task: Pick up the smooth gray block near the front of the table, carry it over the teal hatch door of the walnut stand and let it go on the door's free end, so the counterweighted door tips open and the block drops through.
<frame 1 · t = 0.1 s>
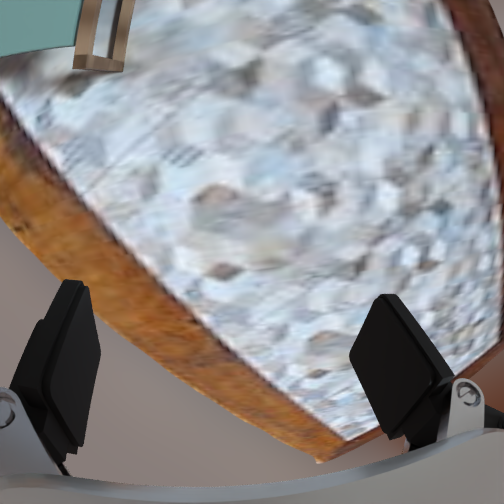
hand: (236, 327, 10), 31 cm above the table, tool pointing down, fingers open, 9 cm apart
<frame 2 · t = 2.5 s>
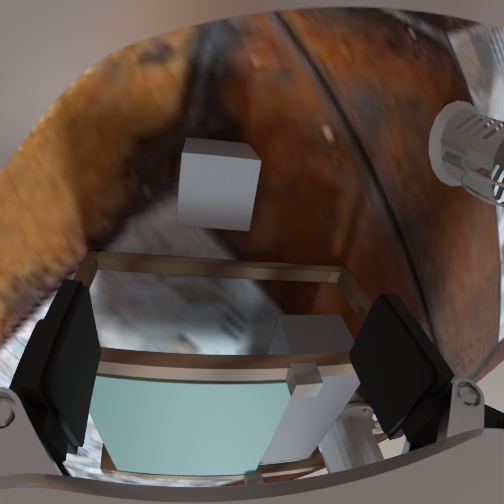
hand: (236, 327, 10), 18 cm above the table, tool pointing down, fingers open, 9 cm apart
hatch door: (218, 407, 27), point 9 cm above the table, hinge at 0.0°
french press: (454, 145, 27), on the table
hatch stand: (249, 340, 36), on the table
smooth gray block: (213, 169, 25), on the table
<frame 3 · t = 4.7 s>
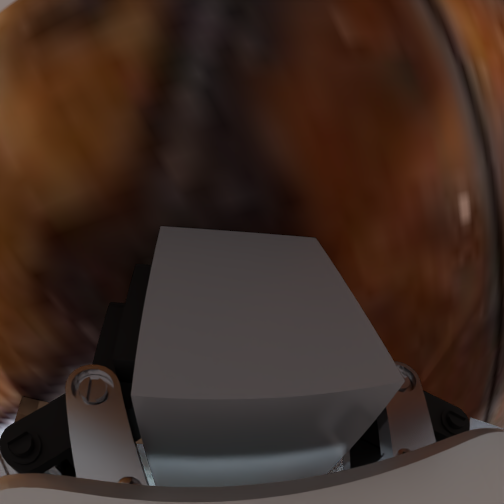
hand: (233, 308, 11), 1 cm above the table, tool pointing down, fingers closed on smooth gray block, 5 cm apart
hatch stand: (277, 474, 21), on the table
smooth gray block: (231, 295, 11), on the table, touching gripper
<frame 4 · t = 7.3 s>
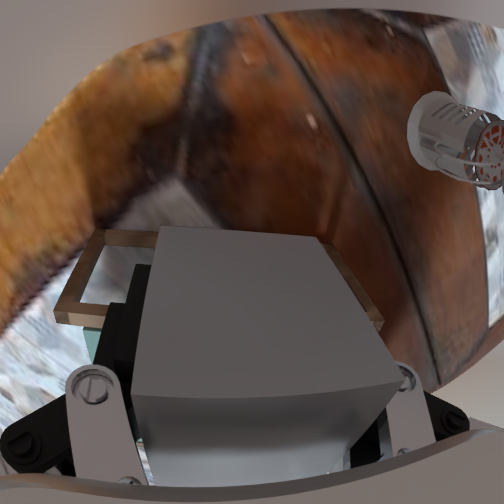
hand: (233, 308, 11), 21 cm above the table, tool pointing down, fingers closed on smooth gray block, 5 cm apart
hatch door: (214, 373, 30), point 9 cm above the table, hinge at 0.0°
french press: (432, 132, 30), on the table
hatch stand: (243, 315, 39), on the table
smooth gray block: (231, 295, 11), point 20 cm above the table, touching gripper
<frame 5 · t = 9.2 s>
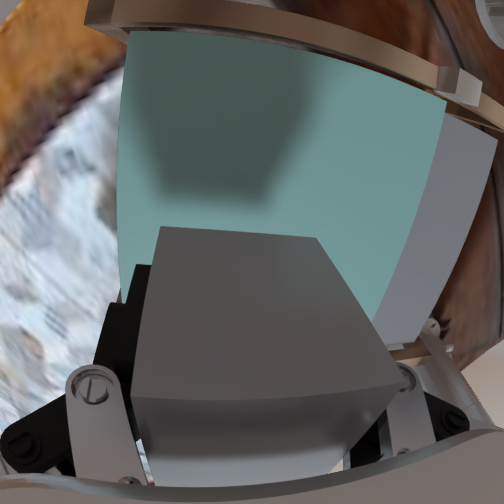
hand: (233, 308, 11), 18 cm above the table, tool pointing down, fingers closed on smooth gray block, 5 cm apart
hatch door: (313, 218, 19), point 9 cm above the table, hinge at 0.0°
french press: (494, 13, 19), on the table
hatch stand: (324, 181, 28), on the table
smooth gray block: (231, 295, 11), point 17 cm above the table, touching gripper
when the fingers open (16 cm above the table, at t = 9.8 s): smooth gray block drops 11 cm and tips over, resting on hatch door.
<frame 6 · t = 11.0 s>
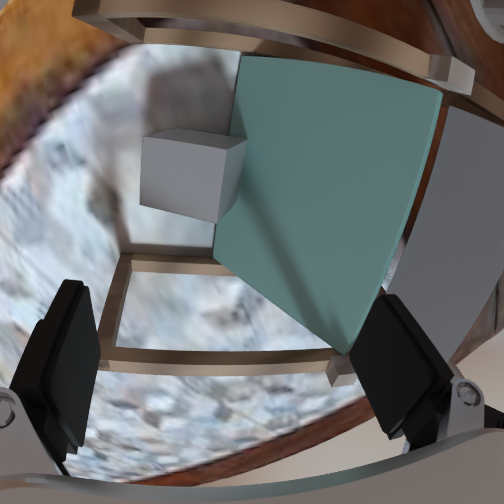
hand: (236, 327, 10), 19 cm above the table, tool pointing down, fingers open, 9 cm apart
hatch door: (362, 206, 22), point 7 cm above the table, hinge at -56.2°, touching smooth gray block
french press: (489, 5, 19), on the table
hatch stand: (316, 173, 28), on the table
smooth gray block: (233, 178, 22), point 5 cm above the table, tilted 114°, touching hatch door
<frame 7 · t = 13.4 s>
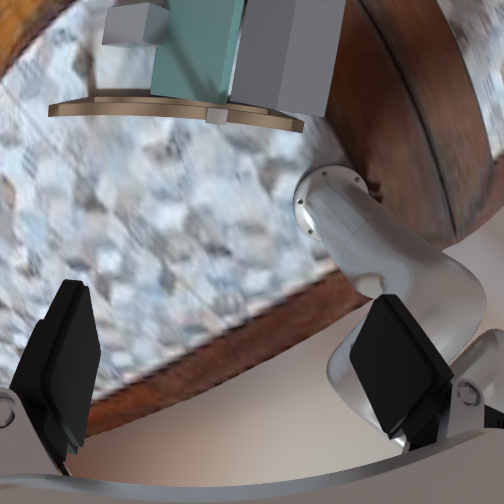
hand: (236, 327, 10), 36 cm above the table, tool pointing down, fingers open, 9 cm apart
hatch door: (235, 27, 28), point 7 cm above the table, hinge at -56.2°, touching smooth gray block
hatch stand: (223, 35, 34), on the table
smooth gray block: (157, 25, 28), point 5 cm above the table, tilted 113°, touching hatch door
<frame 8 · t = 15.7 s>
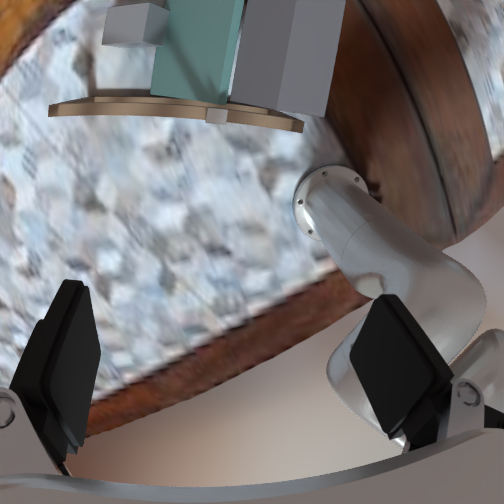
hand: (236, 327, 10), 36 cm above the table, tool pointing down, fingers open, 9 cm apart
hatch door: (235, 27, 28), point 7 cm above the table, hinge at -56.2°, touching smooth gray block
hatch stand: (223, 35, 34), on the table
smooth gray block: (156, 25, 28), point 5 cm above the table, tilted 112°, touching hatch door
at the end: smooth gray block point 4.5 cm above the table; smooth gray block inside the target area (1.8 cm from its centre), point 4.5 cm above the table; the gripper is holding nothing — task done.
